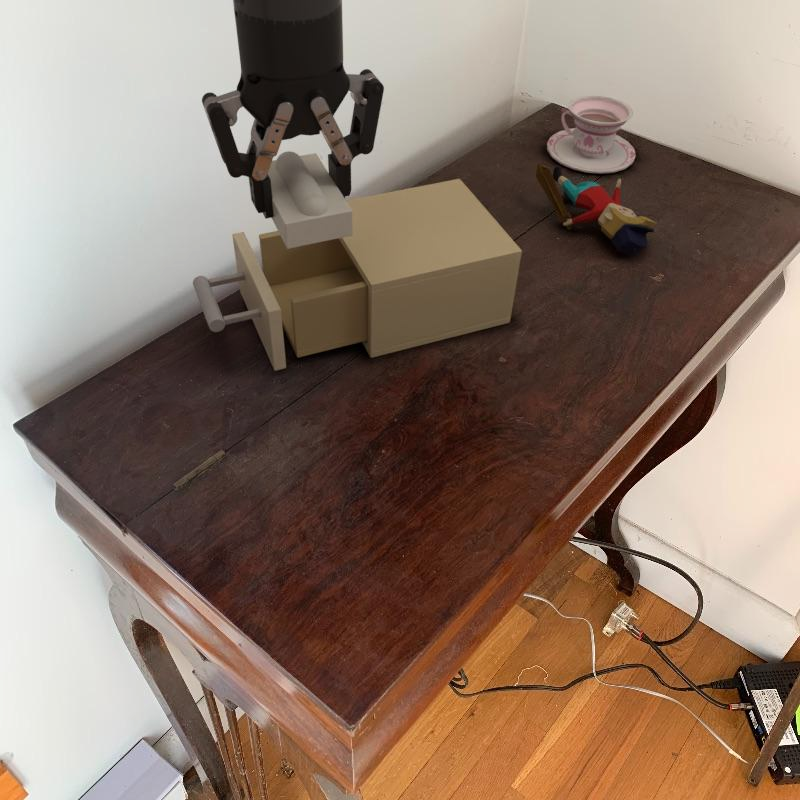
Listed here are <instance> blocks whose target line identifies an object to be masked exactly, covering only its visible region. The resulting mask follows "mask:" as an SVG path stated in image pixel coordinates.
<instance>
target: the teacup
mask: <svg viewBox="0 0 800 800" xmlns="http://www.w3.org/2000/svg"><path fill="white" fill-rule="evenodd" d="M567 108H568V109H566V107H564V108H561V109H560V112H561V117H560V118H561V119H560V120H561V125H562V127H563V129H562V130H560V131H557V132H555V133H554V134H552V135H551V136H550V137H549V139H548V140H547V141H546V151H547V153H548V154H549V156H550V157H551V158H552V159H553V160H555V161H556V162H557V163H559V165H562V166H564V167H566V168H569V169H571V170H574V171H577V172H583V173H586V174H587V173H588V174H600V175H601V174H602V175H603V174H613V173H617V172H620V171H624V170H626V169H627V168H629V167H630V166H632V165H633V163H634V162H635V160H636V157H637V155H636V150H635V148H634V146H633V145H631V143H630V141H628V140H626V139H625V138H623V137H622V136H620V135H618V134H617V133H618V132H619V131H620V130H621V128H622V126H624V125H625V124H626V123H627V122H628V121H629V120H630V119H631V118H632V117H633V116H634V111H633V108H632V107H630V105H628V104H627V103H625V102H623V101H620V100H618V99H615V98H612V97H607V96H602V95H583V96H578V97H574V98H572V99H571V100H570V101H569V102H568V103H567ZM566 115H569V116H570V117H572V118H573V123H574V126H575V127H574V128H573V127H572V128H570V127H569V126H568V125H567V122H566V118H565V116H566Z"/></svg>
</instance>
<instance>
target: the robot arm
mask: <svg viewBox="0 0 800 800" xmlns="http://www.w3.org/2000/svg"><path fill="white" fill-rule="evenodd" d="M232 4H233V12H234V20H235V28H236V37H237V45H238V46H237V47H238V55H239V64H240V77H239V81H238V83H237V85H236V90H232V91H229V92H227V93H223V94H220V95H217V94H215V93H214V92H210V91H209V92H206V93H204V95H202V98H201V103H202V106H203V108H204V109H203V110H204V112H205V115H206V118H207V120H208V123H209V126H210V128H211V132H212V134H213V137H214V141H215V142H216V145H217V149H218V151H219V154H220V157H221V160H222V162H223V163H224V164H225V167H226V169H227V172H228V174H229V176H230V177H232V178H234V179H236V178H241V177H242V176H243V177H247V178H248V183H249V191H250V200H251V202H252V204H253V207H254V208H255V210H256V212H257V213H258V214H262V215H263V217H264V219H272V217H274V215H273V205H272V199H273V198H272V188H271V179H270V177H269V176H268V171H269V168H270V165H271V162H272V161H273V159H274V157H276V156H278V153H279V150H280V147H281V144H282V141H286V140H287V141H288V140H292V139H294V138H296V137H299V136H316V135H322V136H323V138H324V140H325V142H326V144H327V146H328V148H329V149H330V152H331V153H328V154H327V163H328V169H327V170H328V173H329V175H330V177H331V178H332V180H333V181H334V183H335V184H336V186H337V187H338V189H339V190H340V192H341V194H342V195H343V197H344V198H345V199H346V197H350V195H351V192H352V162H353V160H354V159H355V158H356V157H357V156H359V155H369V154H370V153H372V152H373V150H374V147H375V141H376V136H377V129H378V125H379V119H380V114H381V109H382V104H383V103H382V102H383V97H384V91H385V87H384V84H383V83H382V82H381V80H379V77H377V76H376V75H375V74H374V72H373V71H372V70H371V69H368V68H364V69H363V70H362V71H360V72H359V73H358V74H353V73H347V72H346V70H345V67H344V32H343V31H344V29H343V27H344V26H343V25H344V24H343V0H232ZM349 92H350V95H349V96H350V98H351V99H352V100H353V102H354V104H353V111H352V116H351V123H350V129H349V133H348V134H346V135H345V136H344V135H343V133H342V131H341V129H340V126H339V125H338V123H337V121H336V119H335V114H336V112H337V110H338V109H339V107H340V106H341V104H342V102H343V101H344V100H345V98H346V96H347V95H348V93H349ZM242 108H244V109H245V110H246V112H248V113H249V114H250V115H251V116H252V118H253V119H254V120H253V123H252V127H251V129H250V141H249V144H248V147H247V150H246V153H245V152H239V150H238V146H237V143H236V140H235V137H234V135H233V132H232V128H231V127H234V126H235V124H236V123H237V121H238V112H239V110H240V109H242Z"/></svg>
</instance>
